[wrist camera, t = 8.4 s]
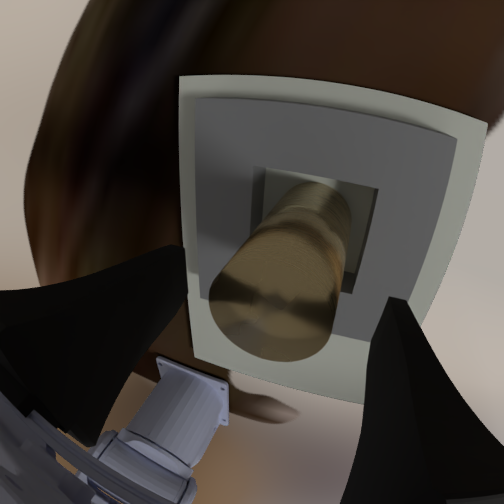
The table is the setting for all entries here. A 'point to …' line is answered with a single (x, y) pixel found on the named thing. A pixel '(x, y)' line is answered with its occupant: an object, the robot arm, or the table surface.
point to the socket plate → (336, 176)
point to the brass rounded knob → (286, 277)
